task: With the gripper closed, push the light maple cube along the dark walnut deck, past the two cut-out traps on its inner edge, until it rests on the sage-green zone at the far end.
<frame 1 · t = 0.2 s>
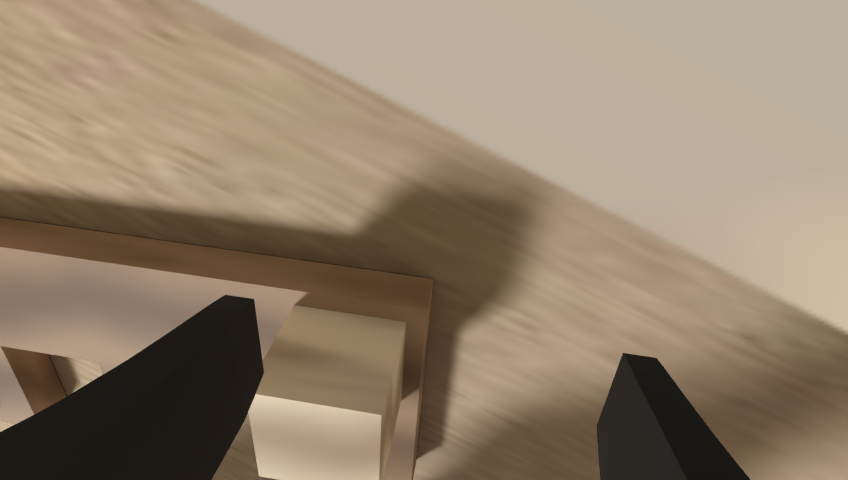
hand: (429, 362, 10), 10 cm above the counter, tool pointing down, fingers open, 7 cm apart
deck: (182, 342, 26), on the counter
block: (350, 355, 22), point 2 cm above the counter, touching deck
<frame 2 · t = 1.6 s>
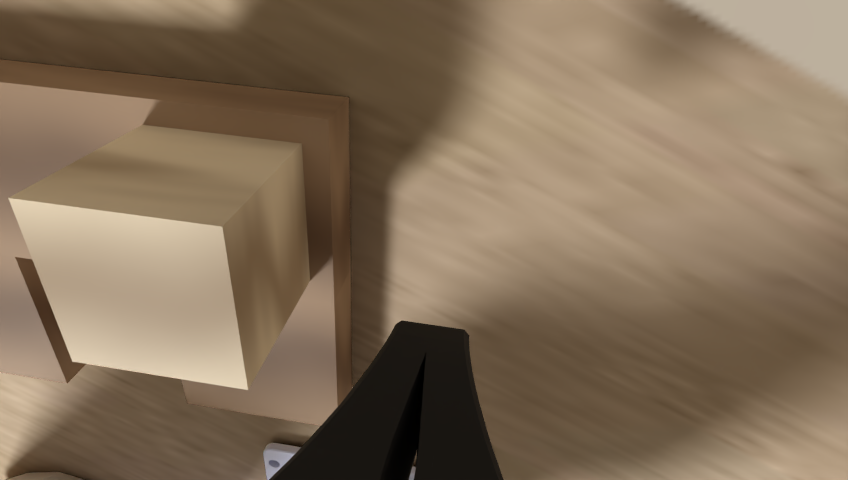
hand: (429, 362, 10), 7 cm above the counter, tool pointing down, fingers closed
deck: (33, 224, 19), on the counter
block: (231, 207, 15), point 2 cm above the counter, touching deck
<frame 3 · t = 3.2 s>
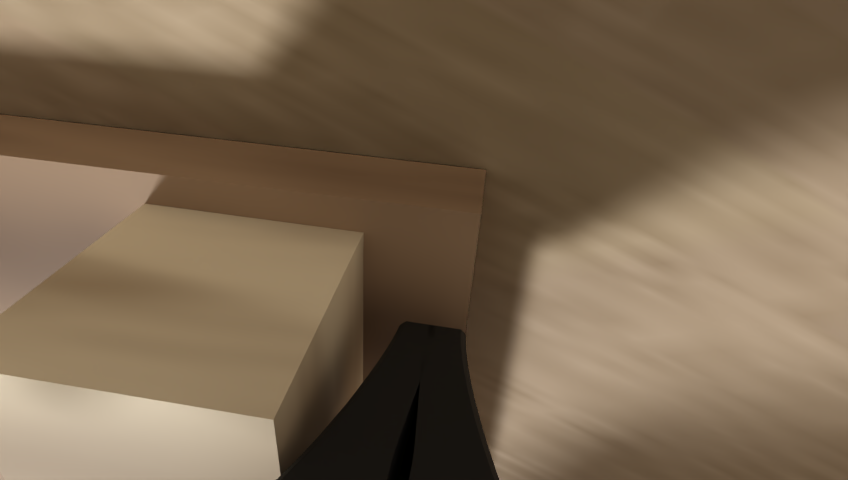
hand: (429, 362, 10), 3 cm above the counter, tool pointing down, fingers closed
deck: (56, 309, 16), on the counter
block: (263, 306, 12), point 2 cm above the counter, touching gripper
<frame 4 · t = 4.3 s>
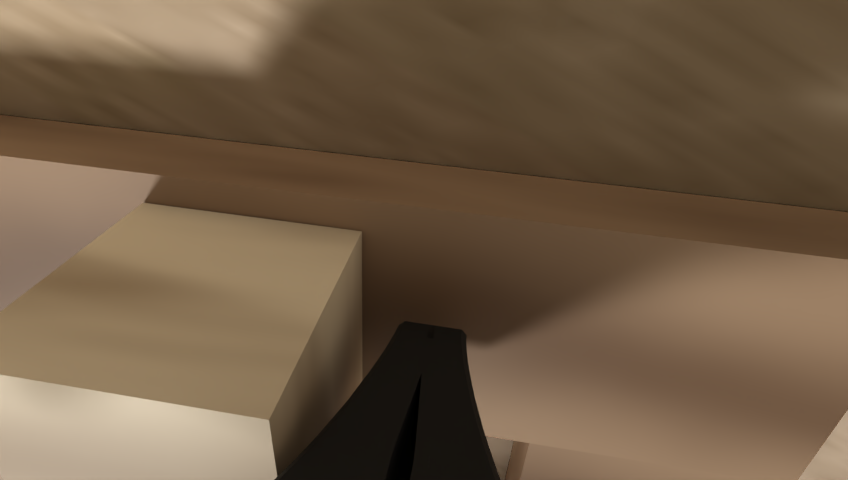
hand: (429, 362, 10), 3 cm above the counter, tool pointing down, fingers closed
deck: (313, 348, 15), on the counter
block: (262, 305, 12), point 2 cm above the counter, touching gripper
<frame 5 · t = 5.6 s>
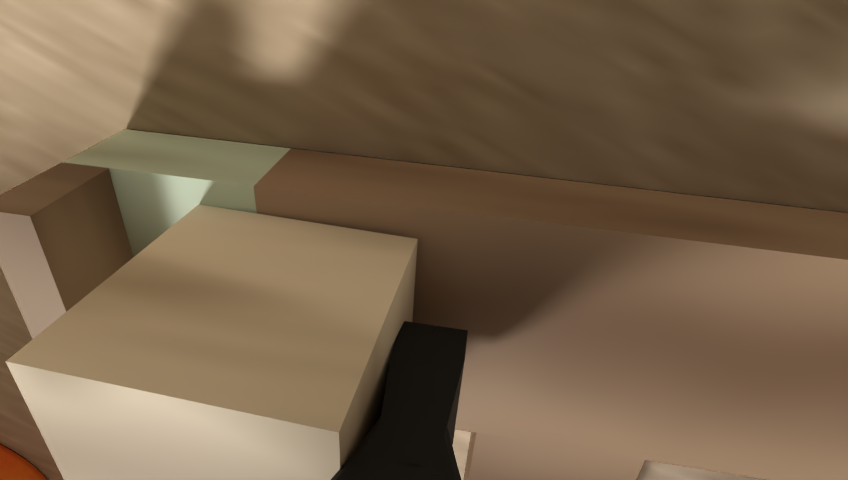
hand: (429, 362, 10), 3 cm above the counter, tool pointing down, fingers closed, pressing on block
deck: (591, 389, 14), on the counter
block: (310, 310, 11), point 2 cm above the counter, touching deck, gripper
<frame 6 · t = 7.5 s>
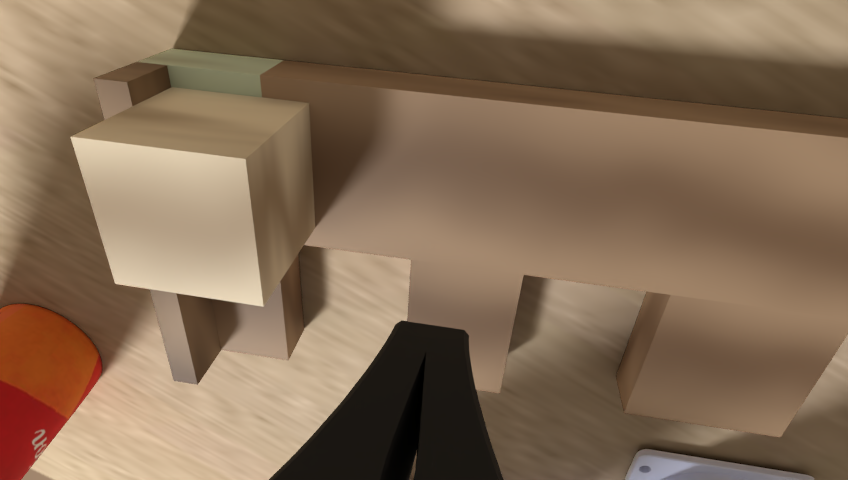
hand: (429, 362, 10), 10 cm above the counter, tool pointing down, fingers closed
deck: (496, 241, 20), on the counter
block: (247, 161, 18), point 2 cm above the counter, touching deck
coffee cup: (52, 345, 28), on the counter
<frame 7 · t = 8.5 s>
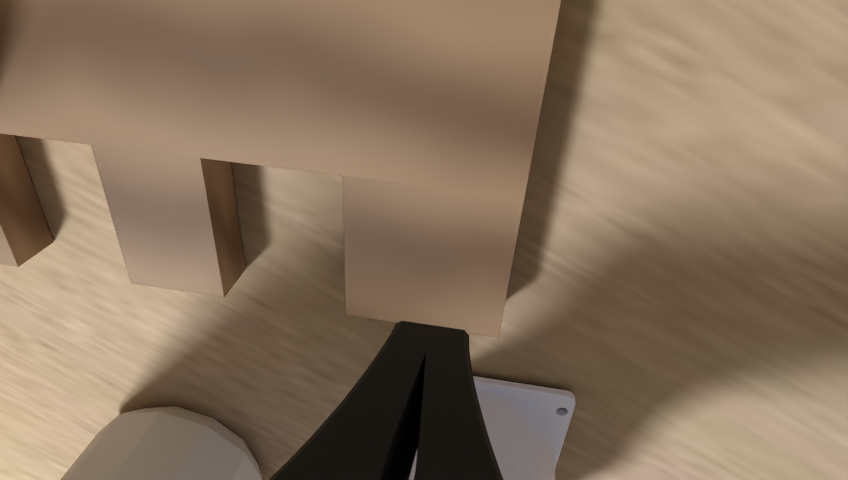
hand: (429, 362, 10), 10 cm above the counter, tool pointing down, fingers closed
deck: (201, 134, 20), on the counter
jar: (193, 450, 31), on the counter
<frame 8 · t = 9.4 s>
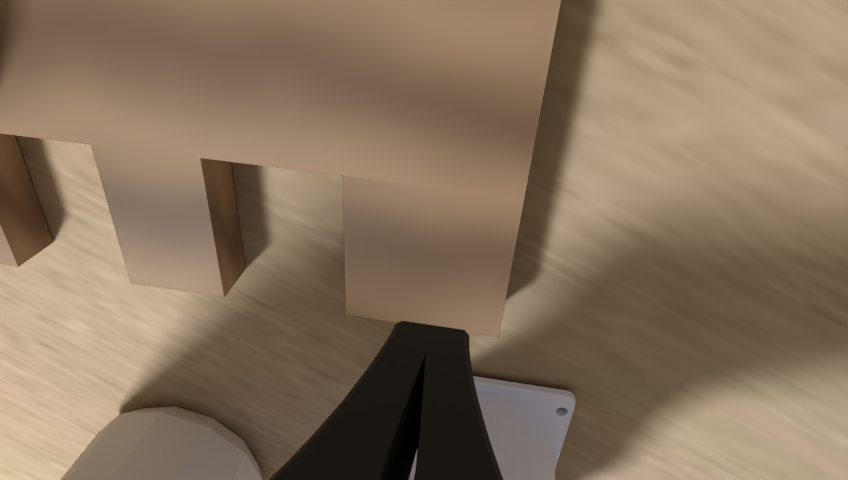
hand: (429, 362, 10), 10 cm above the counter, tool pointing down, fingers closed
deck: (201, 134, 20), on the counter
jar: (193, 451, 31), on the counter
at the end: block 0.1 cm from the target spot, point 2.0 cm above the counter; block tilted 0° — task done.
